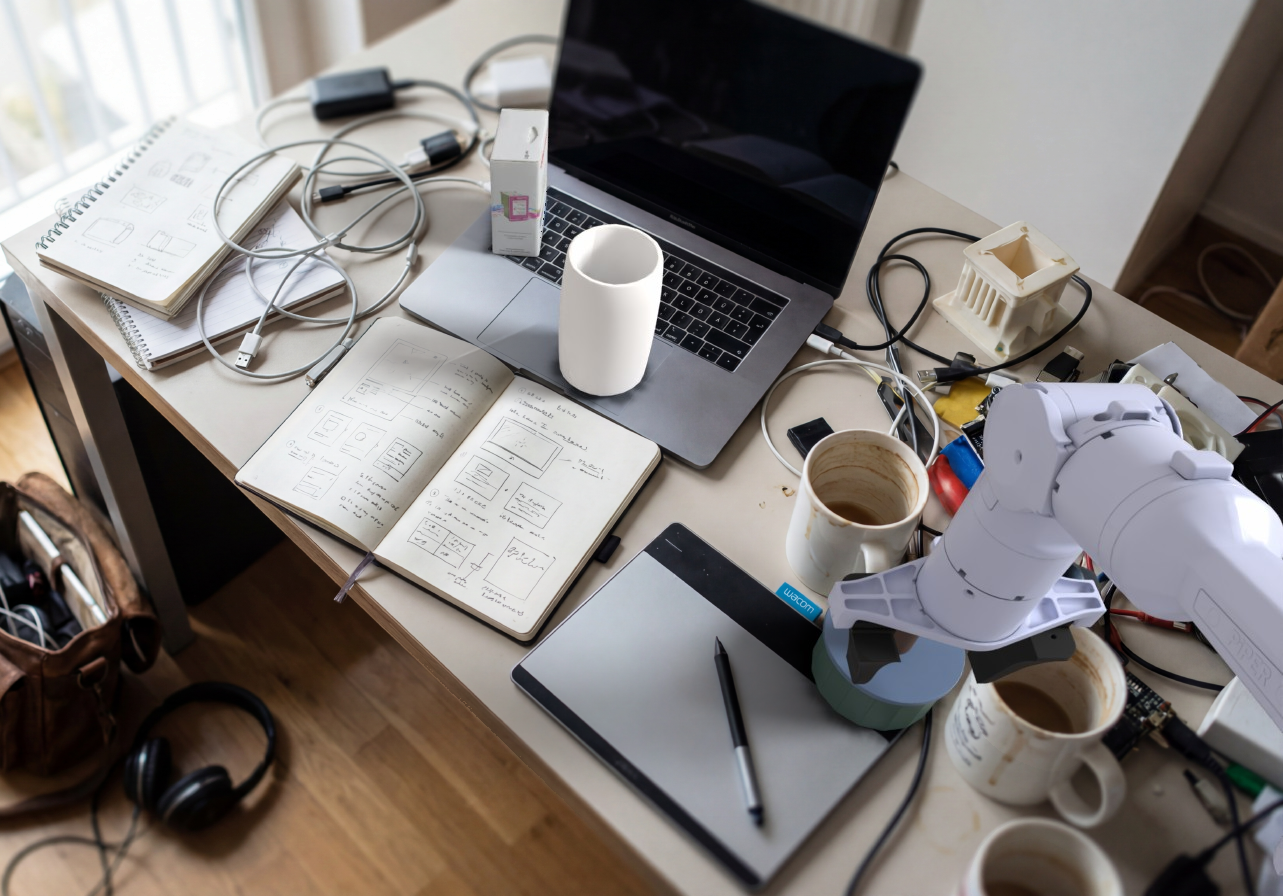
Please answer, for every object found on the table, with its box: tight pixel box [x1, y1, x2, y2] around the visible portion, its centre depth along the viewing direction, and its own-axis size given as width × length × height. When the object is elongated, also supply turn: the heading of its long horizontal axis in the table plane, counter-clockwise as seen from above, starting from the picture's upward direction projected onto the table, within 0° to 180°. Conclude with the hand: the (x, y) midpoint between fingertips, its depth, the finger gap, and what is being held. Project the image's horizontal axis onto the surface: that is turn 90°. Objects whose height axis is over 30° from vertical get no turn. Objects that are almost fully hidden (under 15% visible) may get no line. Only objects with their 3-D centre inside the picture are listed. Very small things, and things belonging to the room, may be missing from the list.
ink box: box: [489, 108, 550, 258], centre depth 101 cm, size 9×5×12 cm, turn 172°
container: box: [811, 631, 938, 732], centre depth 72 cm, size 9×9×5 cm
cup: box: [558, 223, 664, 397], centre depth 88 cm, size 8×8×14 cm
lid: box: [822, 607, 966, 706], centre depth 68 cm, size 9×9×6 cm
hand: (915, 669), depth 64 cm, fingers open, 7 cm apart
